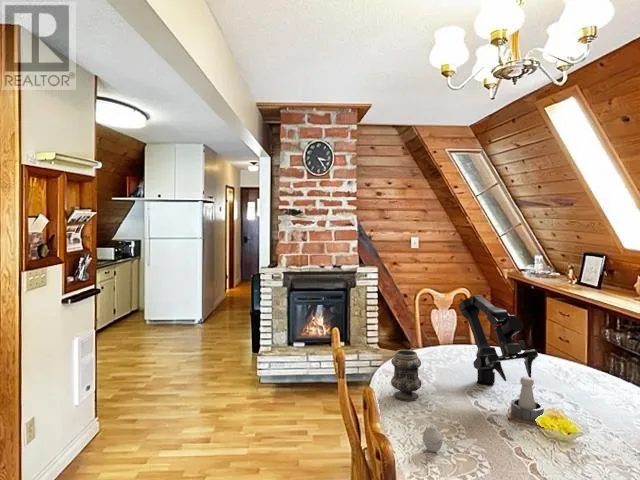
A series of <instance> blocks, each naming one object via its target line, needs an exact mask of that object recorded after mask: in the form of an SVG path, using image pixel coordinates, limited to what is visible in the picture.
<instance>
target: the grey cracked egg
mask: <svg viewBox="0 0 640 480" xmlns="http://www.w3.org/2000/svg"><path fill="white" fill-rule="evenodd" d="M422 435H423V436H422V442H423V443H424V445H425V448H426V449H427V450H428V451H429V452H431V453H436V452H437V453H438V451H440V449H441V448H442V446H443V442H444V438H443V436H442V433H441V432H440V430H439V428H438V426H432V425H429V426H426V427H425V429H424V430H423V434H422Z"/></svg>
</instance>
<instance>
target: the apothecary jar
mask: <svg viewBox="0 0 640 480" xmlns="http://www.w3.org/2000/svg"><path fill="white" fill-rule="evenodd" d="M391 364H392V367H394V369H393V370H394V371H393V373H394V374H393V376H392V377H391V378H390V379H391V380H390V384H391V386H392V387H393V388H394V389H395V390H396V392H395V393H394V394H393V398H395V399H397V400H398V401H403V402H412V401H417V400H419V397H420V395H419V394H418V393H416V392H415V391H418V390H419V389H420V388H421V387H422V380H421V379H420V378H419V368H420V367H421V365H422V360H421V359H420V358H419V357H418V353H417V351H414V350H410V349H398V350H396V351H395V354H394V356H393V357H392V358H391Z"/></svg>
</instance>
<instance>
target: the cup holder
mask: <svg viewBox="0 0 640 480" xmlns="http://www.w3.org/2000/svg"><path fill="white" fill-rule="evenodd" d="M534 401H535V406H536V409H525V408H521V407H519V406H518V403H519V398H514V399H512V400H511V402H510V406H509V411H508V414H507V421H511V422H517V423H522V424H525V425H526V424H527V425H532V426H536V427H537V426H538V425H537V423H536V421H535V419H536V418H537V417H538V416H540V415H542V414H543V413H544V412H546V411H547V410H544V408H545V406H544V404H543V403H541V402H539V401H537V400H534ZM546 413H547V412H546ZM538 427H539V426H538Z"/></svg>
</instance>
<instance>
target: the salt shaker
mask: <svg viewBox="0 0 640 480" xmlns="http://www.w3.org/2000/svg"><path fill="white" fill-rule="evenodd" d="M519 381H520V384H521V389H520V393H519V394H520V395H519V398H518V399H519V403H518V406H519V407H521V408H525V409H536V406H535V401H536V400H535V397H534V391H533V387H532V386H534V385H535V382H534V379H533V378H532V377H531V378H530V377H529V376H522V377H520V380H519Z"/></svg>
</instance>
